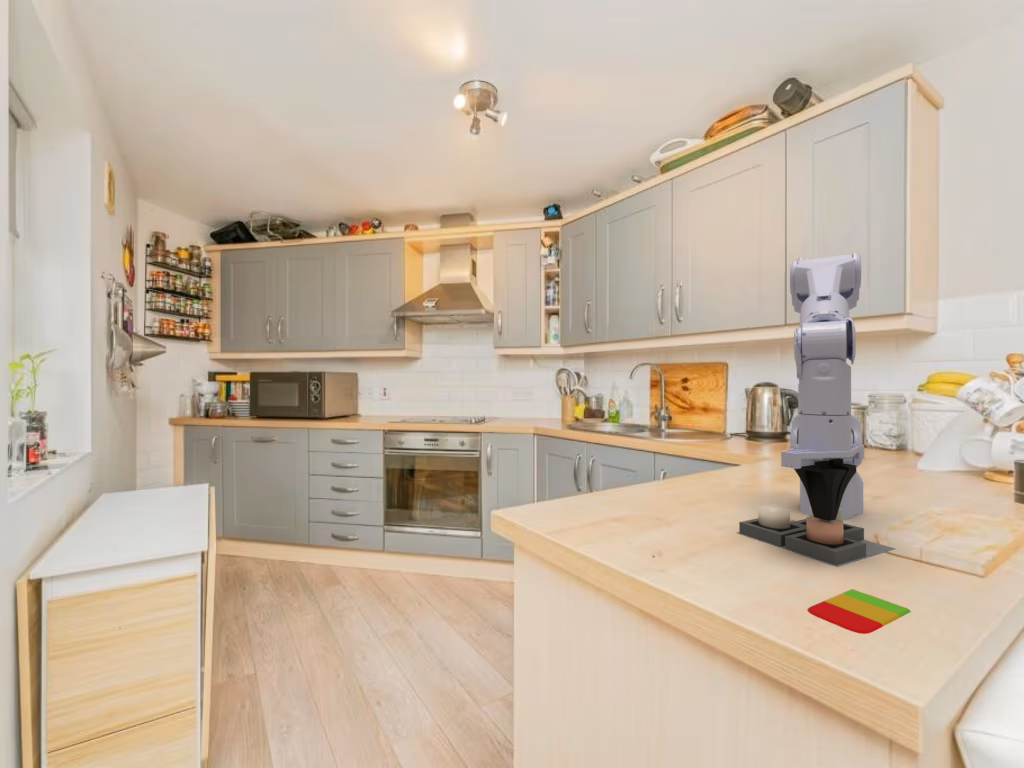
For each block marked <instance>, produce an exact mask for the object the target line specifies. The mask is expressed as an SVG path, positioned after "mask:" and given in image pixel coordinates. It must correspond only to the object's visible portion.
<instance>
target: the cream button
mask: <svg viewBox="0 0 1024 768" xmlns="http://www.w3.org/2000/svg"><path fill="white" fill-rule="evenodd" d="M757 509H758V510H757V511H758V512H757V515H758V517H757V518H758V523H759V524H760V525H762V526H765V527H770V528H776V529H786V528H790V521H791V508H790V507H787V506H785V505H781V504H775V503H774V504H773V503H760V504H758V507H757Z"/></svg>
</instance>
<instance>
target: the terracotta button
mask: <svg viewBox="0 0 1024 768" xmlns="http://www.w3.org/2000/svg"><path fill="white" fill-rule="evenodd" d="M805 519H806V536H807V538H808V539H810V540H812V541H815V542H819V543H823V544H833V545H837V544H842V543H843V523H844V521H843V522H842V521H840V520H837V519H836V520H832V521H827V520H823V519H819V518H815V517H814V516H807V517H806V518H805Z"/></svg>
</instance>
